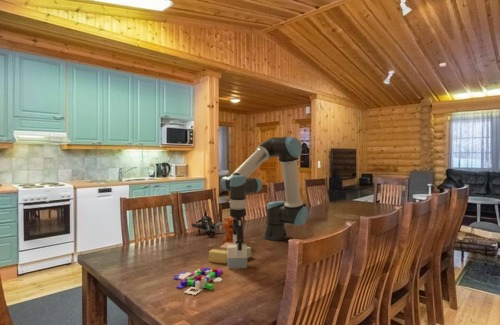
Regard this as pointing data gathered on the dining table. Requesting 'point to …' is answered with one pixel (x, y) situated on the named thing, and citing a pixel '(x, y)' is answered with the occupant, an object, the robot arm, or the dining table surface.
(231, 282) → the dining table surface
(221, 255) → the ochre brick
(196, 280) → the building block set
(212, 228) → the airplane toy
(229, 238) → the orange lumpy upright piece
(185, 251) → the dining table surface
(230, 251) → the cream brick
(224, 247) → the terracotta brick
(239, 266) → the slate brick
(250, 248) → the sage brick
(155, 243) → the dining table surface
